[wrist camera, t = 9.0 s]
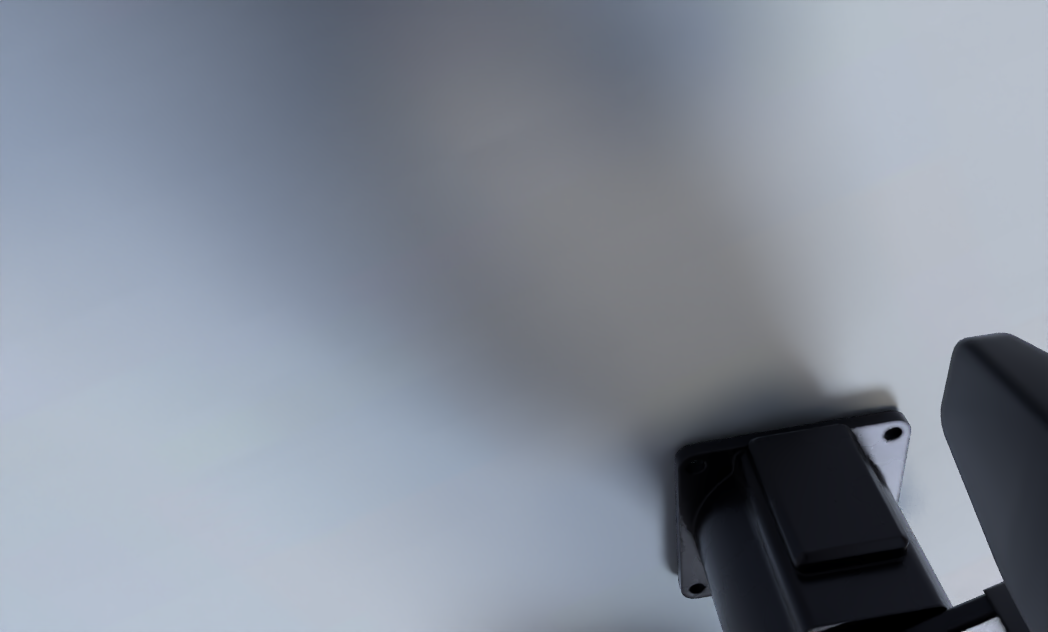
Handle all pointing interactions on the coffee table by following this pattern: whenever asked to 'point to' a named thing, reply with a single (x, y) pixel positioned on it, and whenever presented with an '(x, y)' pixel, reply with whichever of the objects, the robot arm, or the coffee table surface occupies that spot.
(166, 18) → the coffee table surface
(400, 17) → the coffee table surface
